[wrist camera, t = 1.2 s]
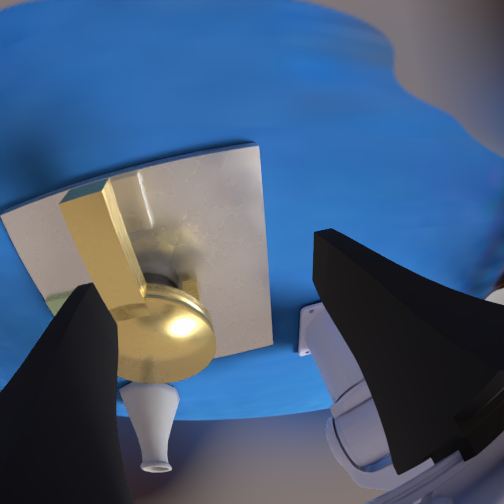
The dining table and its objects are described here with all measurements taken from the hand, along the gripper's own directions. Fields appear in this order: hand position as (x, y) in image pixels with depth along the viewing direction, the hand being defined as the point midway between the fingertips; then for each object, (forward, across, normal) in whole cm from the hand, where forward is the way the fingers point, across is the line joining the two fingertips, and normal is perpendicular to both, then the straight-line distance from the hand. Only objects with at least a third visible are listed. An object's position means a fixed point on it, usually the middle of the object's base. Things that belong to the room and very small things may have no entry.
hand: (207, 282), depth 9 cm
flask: (+11, +11, +24) cm, 29 cm away
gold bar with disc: (+9, +5, +5) cm, 11 cm away
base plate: (+10, +5, +8) cm, 14 cm away
